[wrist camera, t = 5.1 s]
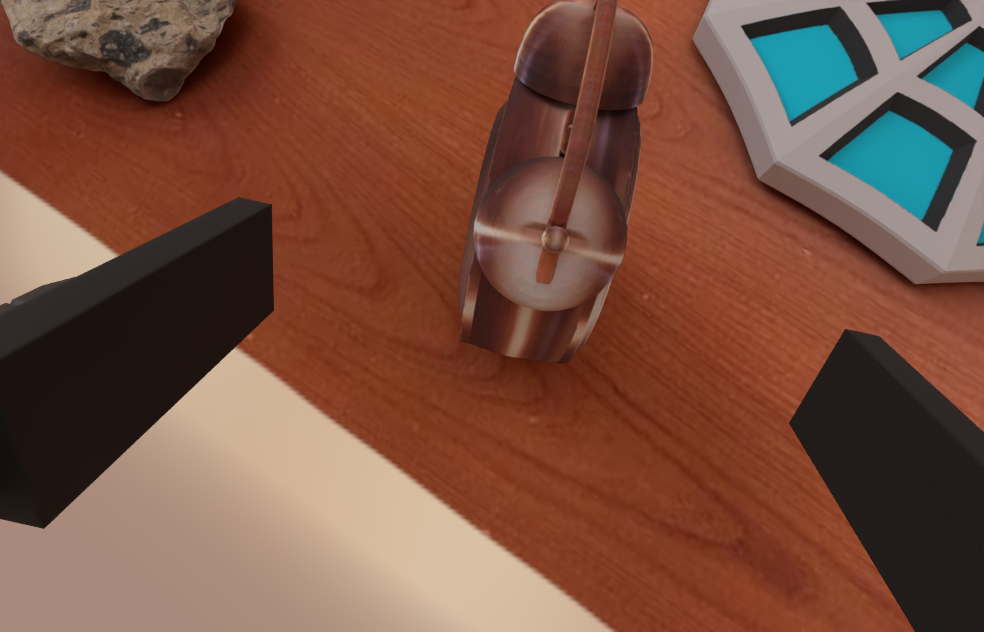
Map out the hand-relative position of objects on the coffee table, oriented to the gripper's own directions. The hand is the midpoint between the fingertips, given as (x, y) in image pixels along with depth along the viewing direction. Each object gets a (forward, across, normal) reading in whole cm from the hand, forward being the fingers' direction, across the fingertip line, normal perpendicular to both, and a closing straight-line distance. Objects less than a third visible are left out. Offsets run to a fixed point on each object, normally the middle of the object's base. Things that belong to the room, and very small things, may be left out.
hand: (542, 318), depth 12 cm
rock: (+21, -24, +2) cm, 32 cm away
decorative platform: (+27, +22, +8) cm, 36 cm away
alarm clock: (+14, 0, -5) cm, 15 cm away
